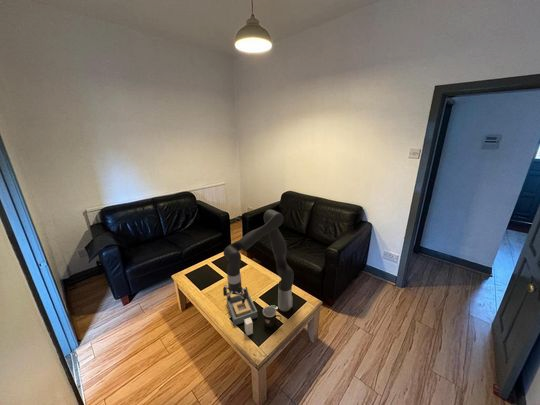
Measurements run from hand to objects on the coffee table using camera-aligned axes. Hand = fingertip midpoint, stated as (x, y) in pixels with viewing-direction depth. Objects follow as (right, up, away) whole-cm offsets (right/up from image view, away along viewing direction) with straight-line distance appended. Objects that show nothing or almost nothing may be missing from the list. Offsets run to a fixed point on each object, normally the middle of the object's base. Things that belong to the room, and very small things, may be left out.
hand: (236, 301), depth 130 cm
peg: (+7, -22, +7) cm, 24 cm away
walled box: (0, -17, +23) cm, 28 cm away
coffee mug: (+21, -21, +12) cm, 32 cm away
